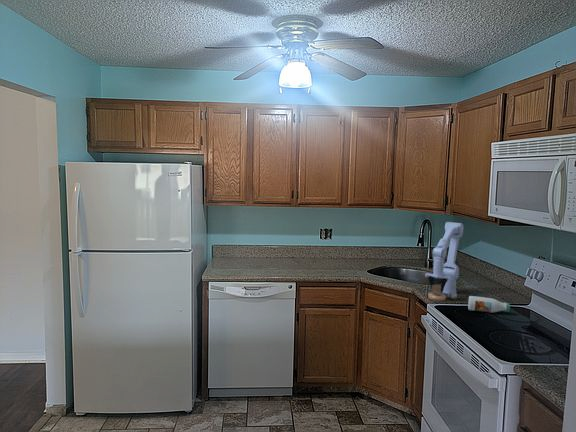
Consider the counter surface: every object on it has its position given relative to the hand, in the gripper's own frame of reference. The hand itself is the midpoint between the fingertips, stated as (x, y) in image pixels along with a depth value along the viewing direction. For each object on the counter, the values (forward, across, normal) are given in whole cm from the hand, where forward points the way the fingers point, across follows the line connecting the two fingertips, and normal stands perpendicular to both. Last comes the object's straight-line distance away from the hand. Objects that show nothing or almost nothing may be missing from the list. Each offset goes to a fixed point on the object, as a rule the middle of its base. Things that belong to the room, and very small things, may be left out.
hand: (437, 290), depth 251 cm
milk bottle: (+1, +20, -10) cm, 22 cm away
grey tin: (+5, +7, +7) cm, 11 cm away
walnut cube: (+2, 0, 0) cm, 2 cm away
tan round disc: (+5, 0, 0) cm, 5 cm away
